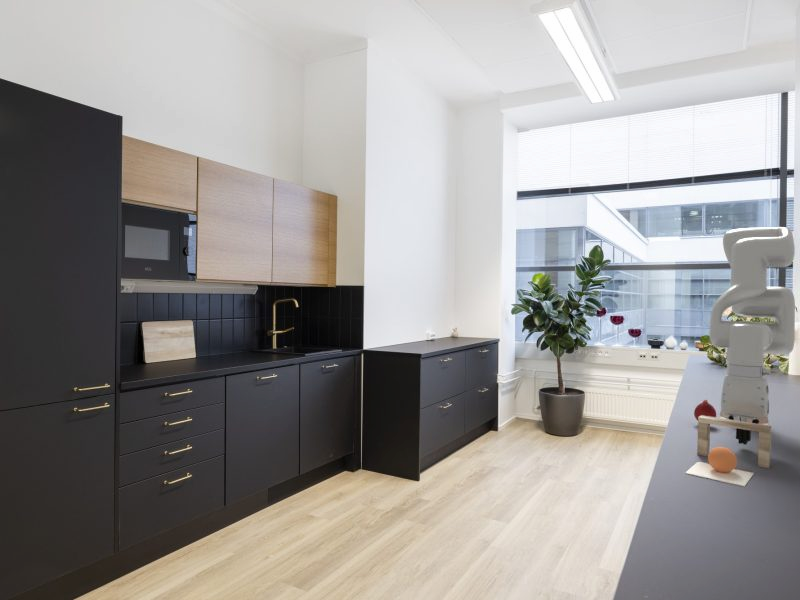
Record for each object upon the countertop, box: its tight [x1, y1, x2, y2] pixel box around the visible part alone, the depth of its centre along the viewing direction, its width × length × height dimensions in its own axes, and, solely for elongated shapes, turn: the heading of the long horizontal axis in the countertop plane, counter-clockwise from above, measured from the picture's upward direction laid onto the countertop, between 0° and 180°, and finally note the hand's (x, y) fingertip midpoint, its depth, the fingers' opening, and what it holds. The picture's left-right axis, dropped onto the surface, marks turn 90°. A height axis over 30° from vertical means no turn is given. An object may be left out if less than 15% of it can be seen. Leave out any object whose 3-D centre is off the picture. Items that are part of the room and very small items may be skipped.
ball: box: [707, 446, 738, 473], centre depth 118 cm, size 6×6×6 cm
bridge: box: [696, 415, 773, 469], centre depth 127 cm, size 3×14×9 cm, turn 48°
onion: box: [693, 399, 717, 422], centre depth 160 cm, size 6×6×8 cm
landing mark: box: [684, 461, 755, 488], centre depth 116 cm, size 11×11×1 cm
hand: (743, 442), depth 136 cm, fingers closed
